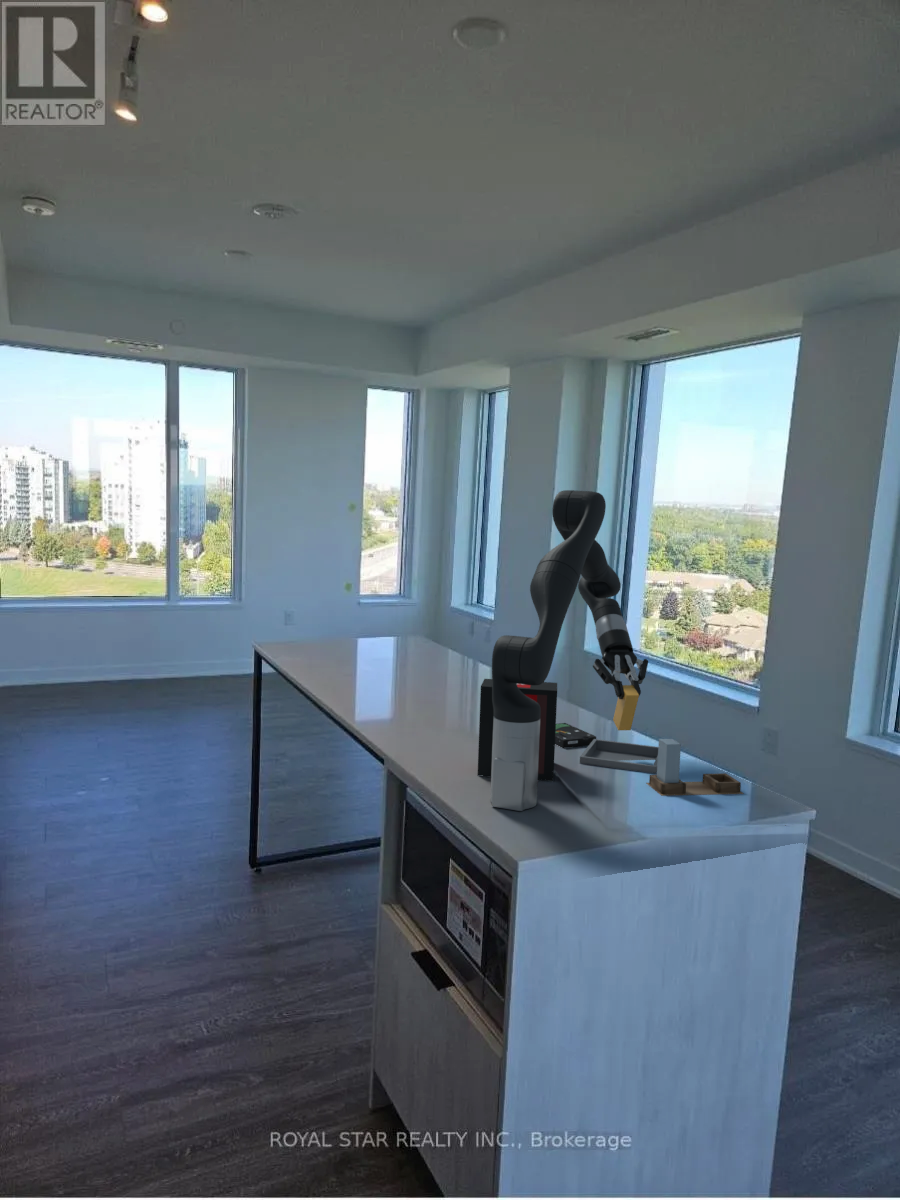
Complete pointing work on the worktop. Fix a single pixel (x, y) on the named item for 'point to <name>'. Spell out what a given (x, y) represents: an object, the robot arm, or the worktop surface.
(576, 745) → the disk drive
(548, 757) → the cleaning product box
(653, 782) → the block
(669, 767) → the block
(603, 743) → the tray
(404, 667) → the worktop surface
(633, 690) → the yellow rectangular block
